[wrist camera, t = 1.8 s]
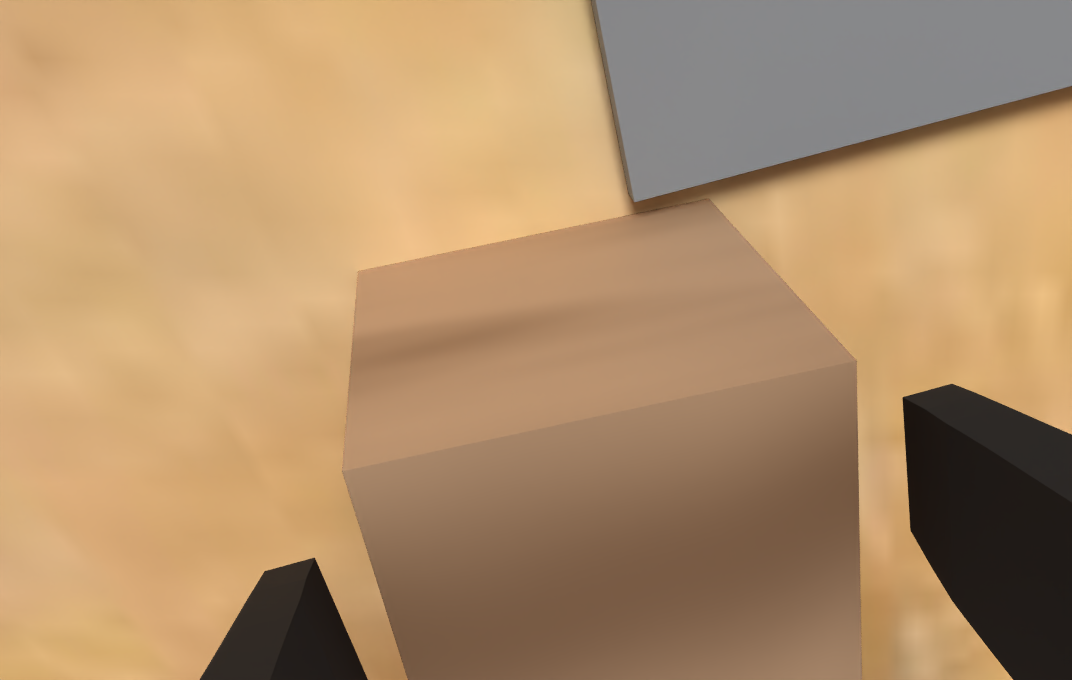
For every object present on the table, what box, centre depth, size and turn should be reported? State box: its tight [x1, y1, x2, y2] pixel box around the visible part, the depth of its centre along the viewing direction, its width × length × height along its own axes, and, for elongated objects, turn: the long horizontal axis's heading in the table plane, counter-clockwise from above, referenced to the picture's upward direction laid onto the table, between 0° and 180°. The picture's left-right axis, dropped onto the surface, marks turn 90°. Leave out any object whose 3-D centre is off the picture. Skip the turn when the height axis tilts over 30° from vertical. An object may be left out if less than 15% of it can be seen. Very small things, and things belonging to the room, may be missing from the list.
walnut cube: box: [342, 199, 862, 680], centre depth 14 cm, size 6×6×6 cm
